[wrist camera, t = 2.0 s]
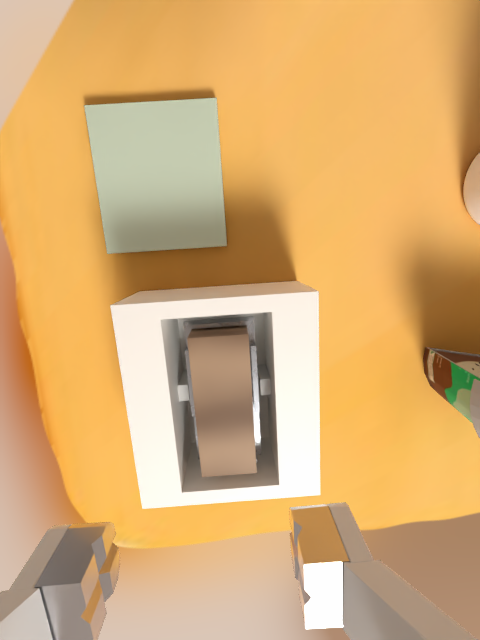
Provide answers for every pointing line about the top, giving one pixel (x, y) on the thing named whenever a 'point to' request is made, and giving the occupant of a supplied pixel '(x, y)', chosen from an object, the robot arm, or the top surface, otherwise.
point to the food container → (456, 380)
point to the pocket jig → (174, 400)
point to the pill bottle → (473, 189)
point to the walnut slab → (223, 399)
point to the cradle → (253, 364)
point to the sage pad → (158, 174)
